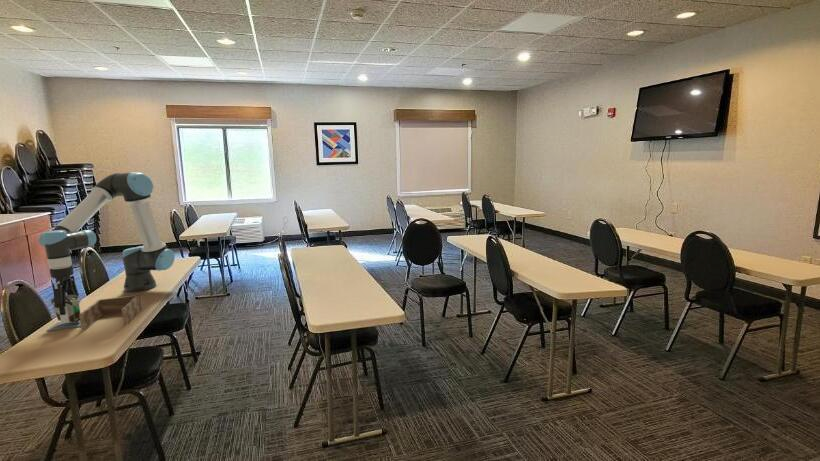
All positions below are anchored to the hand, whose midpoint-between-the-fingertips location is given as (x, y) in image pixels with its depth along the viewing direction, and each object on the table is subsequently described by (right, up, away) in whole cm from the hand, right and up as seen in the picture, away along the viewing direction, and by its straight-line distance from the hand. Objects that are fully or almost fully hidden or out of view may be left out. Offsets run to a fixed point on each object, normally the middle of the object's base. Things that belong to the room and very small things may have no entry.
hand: (70, 317), depth 177 cm
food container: (0, -1, +2) cm, 3 cm away
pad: (0, -3, 0) cm, 3 cm away
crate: (+15, -2, +6) cm, 16 cm away
